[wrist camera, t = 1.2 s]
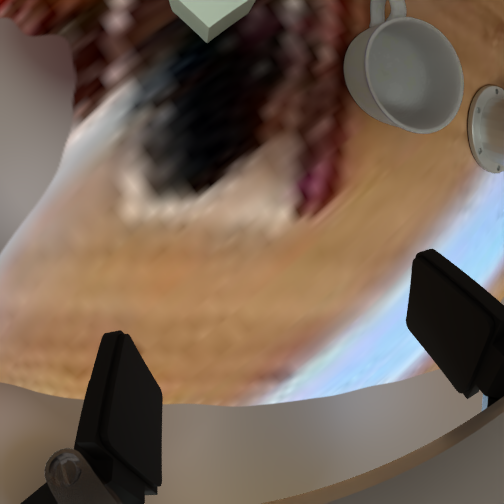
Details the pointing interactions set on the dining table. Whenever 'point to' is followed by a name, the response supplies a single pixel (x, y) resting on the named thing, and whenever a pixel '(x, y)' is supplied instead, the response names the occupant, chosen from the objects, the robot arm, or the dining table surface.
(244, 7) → the sage block
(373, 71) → the teacup
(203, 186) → the dining table surface
